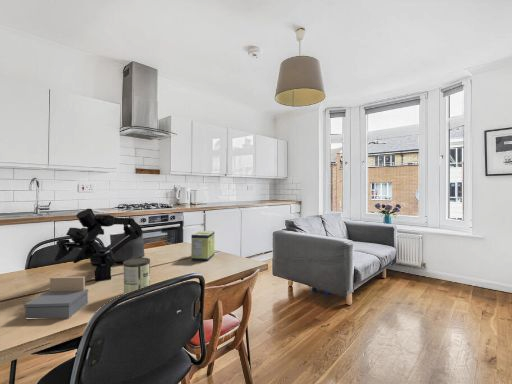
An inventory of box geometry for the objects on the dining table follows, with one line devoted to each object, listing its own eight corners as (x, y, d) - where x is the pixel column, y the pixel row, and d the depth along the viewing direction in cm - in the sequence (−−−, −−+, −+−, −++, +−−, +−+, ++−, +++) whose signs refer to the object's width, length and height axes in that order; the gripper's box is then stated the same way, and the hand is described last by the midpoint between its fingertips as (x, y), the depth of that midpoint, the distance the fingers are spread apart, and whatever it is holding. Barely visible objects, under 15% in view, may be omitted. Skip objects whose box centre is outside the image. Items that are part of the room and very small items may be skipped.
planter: (132, 261, 154) (129, 232, 155) (104, 262, 158) (102, 235, 159) (150, 254, 172) (148, 229, 172) (125, 256, 175) (123, 231, 176)
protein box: (214, 254, 180) (214, 231, 180) (207, 261, 165) (208, 235, 164) (199, 254, 181) (199, 230, 181) (191, 260, 166) (191, 235, 166)
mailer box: (49, 304, 105) (49, 293, 105) (87, 303, 106) (87, 292, 106) (25, 319, 93) (25, 307, 93) (69, 318, 94) (68, 306, 94)
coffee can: (129, 289, 120) (129, 257, 120) (153, 289, 121) (153, 257, 120) (118, 299, 110) (118, 264, 110) (144, 299, 110) (144, 264, 110)
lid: (49, 292, 105) (48, 277, 105) (88, 291, 106) (88, 276, 106) (24, 307, 93) (24, 289, 93) (69, 306, 94) (69, 288, 94)
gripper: (63, 220, 123) (34, 246, 110) (99, 222, 119) (73, 249, 106) (75, 238, 129) (50, 265, 117) (110, 240, 125) (87, 268, 113)
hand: (64, 261), depth 113 cm, fingers open, 9 cm apart
